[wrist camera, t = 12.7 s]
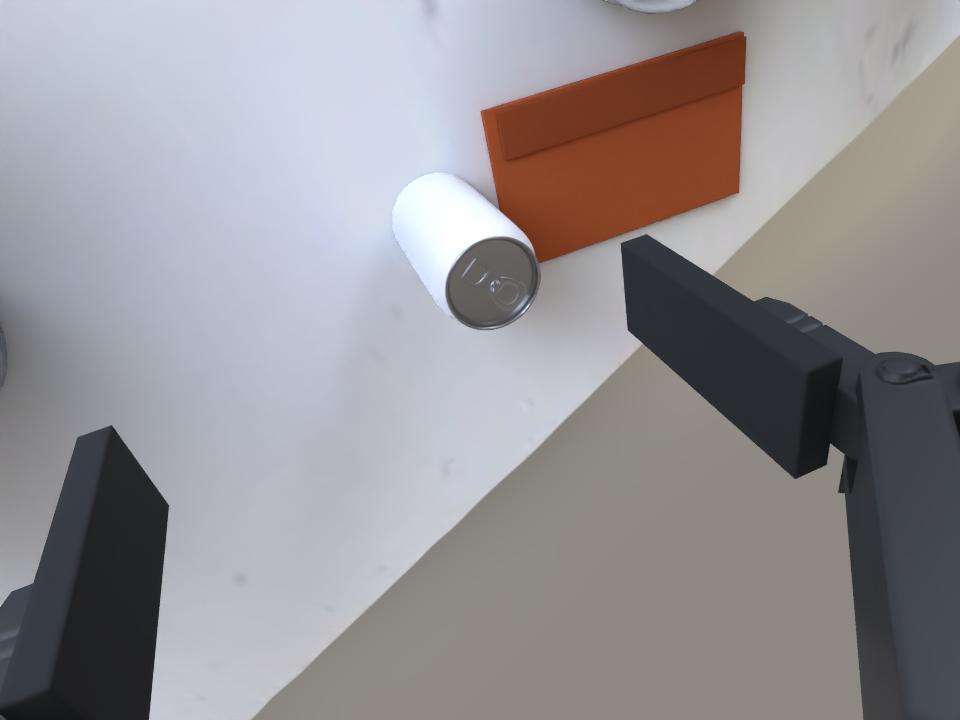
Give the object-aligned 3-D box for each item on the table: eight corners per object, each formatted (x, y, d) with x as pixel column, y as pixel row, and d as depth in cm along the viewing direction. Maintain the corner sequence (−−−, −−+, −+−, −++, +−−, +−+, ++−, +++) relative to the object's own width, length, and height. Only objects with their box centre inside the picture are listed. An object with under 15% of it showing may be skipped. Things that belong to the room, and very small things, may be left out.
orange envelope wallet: (511, 270, 49) (516, 275, 48) (480, 111, 42) (485, 113, 42) (735, 191, 53) (743, 194, 52) (739, 31, 46) (749, 32, 45)
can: (443, 275, 48) (500, 354, 38) (371, 230, 44) (414, 304, 34) (496, 203, 46) (569, 267, 36) (426, 150, 43) (487, 205, 33)
